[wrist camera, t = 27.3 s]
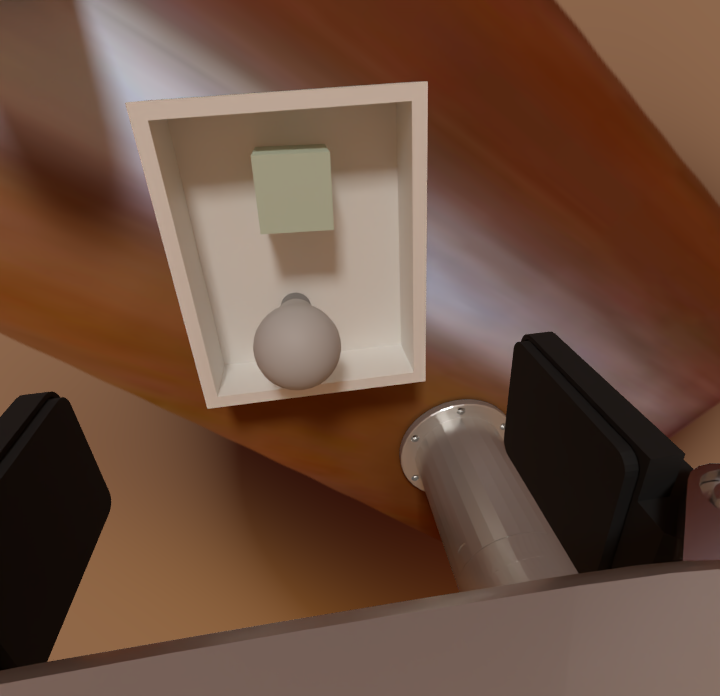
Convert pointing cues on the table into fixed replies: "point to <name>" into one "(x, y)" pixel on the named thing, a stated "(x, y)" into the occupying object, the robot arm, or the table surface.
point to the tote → (297, 249)
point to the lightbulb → (297, 344)
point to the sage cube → (293, 188)
